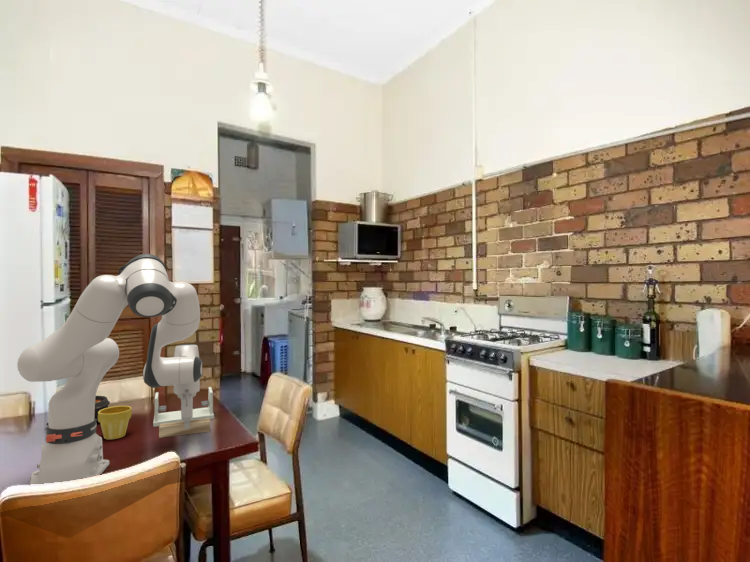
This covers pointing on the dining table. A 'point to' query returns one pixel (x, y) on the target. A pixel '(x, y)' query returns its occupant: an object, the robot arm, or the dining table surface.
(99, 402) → the casserole
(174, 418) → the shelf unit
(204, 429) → the pine batten
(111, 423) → the plant pot
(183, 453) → the dining table surface
